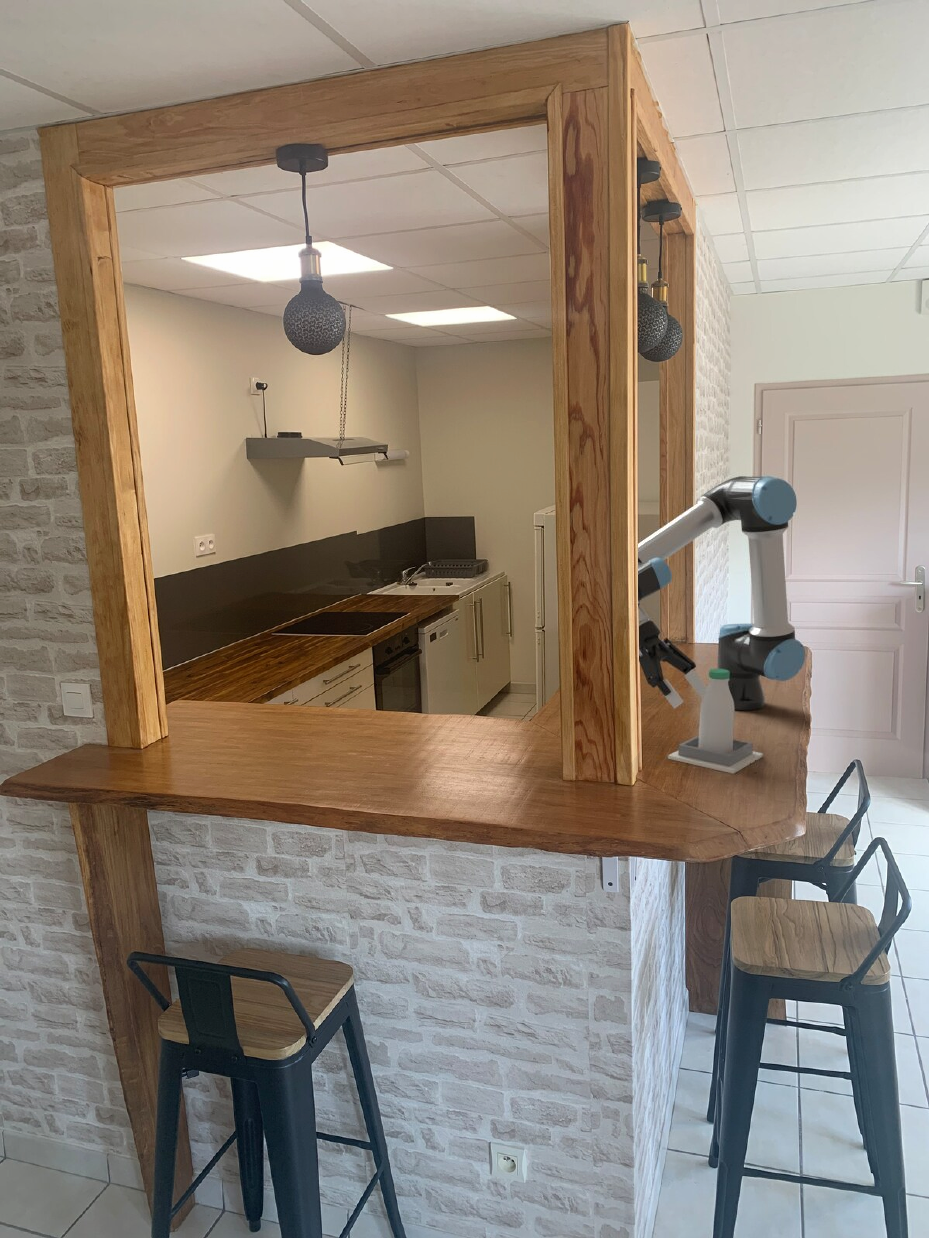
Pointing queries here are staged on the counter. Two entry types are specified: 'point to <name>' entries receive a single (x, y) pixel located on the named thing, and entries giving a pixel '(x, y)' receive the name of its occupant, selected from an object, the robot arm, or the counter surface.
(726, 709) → the milk bottle
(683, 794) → the counter surface
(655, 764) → the counter surface
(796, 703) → the counter surface
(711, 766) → the tray
